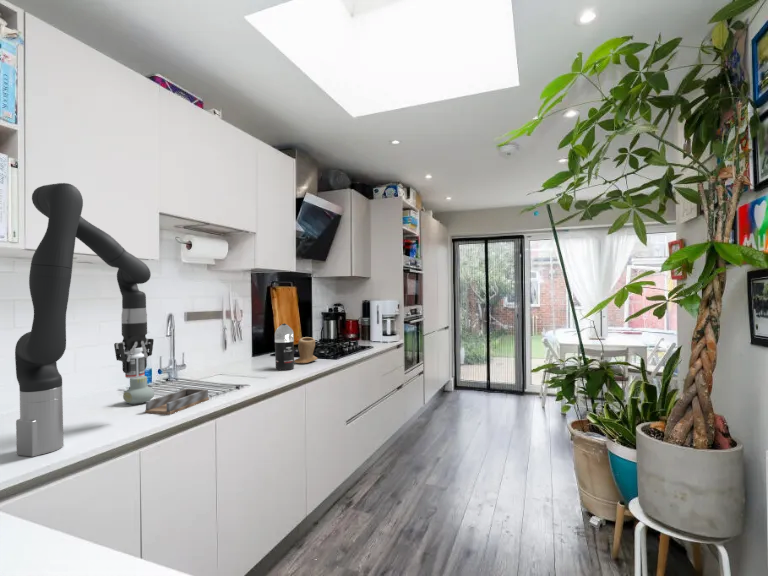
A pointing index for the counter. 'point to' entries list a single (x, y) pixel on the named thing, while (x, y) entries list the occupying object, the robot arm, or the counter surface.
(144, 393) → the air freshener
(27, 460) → the counter surface
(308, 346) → the stone cup
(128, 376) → the pill bottle
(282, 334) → the black labeled bottle
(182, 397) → the grey tray
